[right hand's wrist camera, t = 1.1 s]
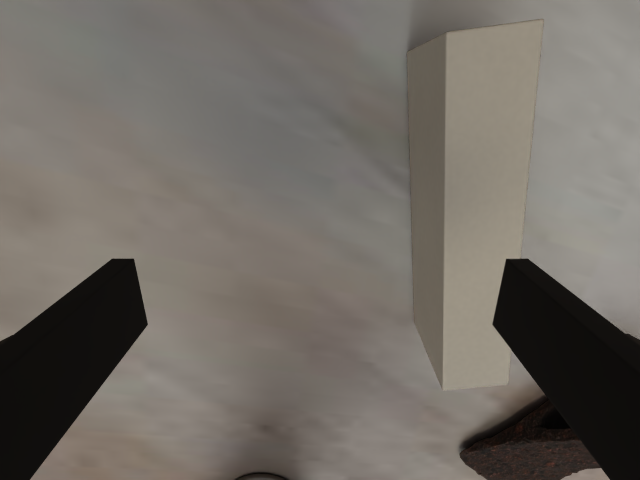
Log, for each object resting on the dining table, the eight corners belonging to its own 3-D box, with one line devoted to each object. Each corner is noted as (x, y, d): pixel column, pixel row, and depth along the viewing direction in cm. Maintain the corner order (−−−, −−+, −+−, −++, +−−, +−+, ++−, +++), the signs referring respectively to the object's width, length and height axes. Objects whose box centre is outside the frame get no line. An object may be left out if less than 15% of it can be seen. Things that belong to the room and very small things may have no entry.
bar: (406, 51, 27) (446, 31, 18) (473, 42, 26) (544, 18, 18) (413, 322, 36) (442, 391, 27) (464, 317, 35) (508, 385, 27)
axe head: (547, 527, 44) (467, 518, 38) (513, 457, 50) (440, 439, 44) (706, 468, 35) (636, 444, 29) (641, 392, 42) (572, 359, 36)
